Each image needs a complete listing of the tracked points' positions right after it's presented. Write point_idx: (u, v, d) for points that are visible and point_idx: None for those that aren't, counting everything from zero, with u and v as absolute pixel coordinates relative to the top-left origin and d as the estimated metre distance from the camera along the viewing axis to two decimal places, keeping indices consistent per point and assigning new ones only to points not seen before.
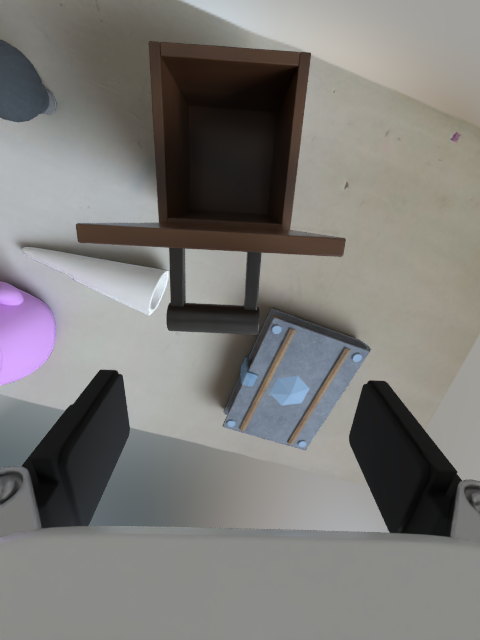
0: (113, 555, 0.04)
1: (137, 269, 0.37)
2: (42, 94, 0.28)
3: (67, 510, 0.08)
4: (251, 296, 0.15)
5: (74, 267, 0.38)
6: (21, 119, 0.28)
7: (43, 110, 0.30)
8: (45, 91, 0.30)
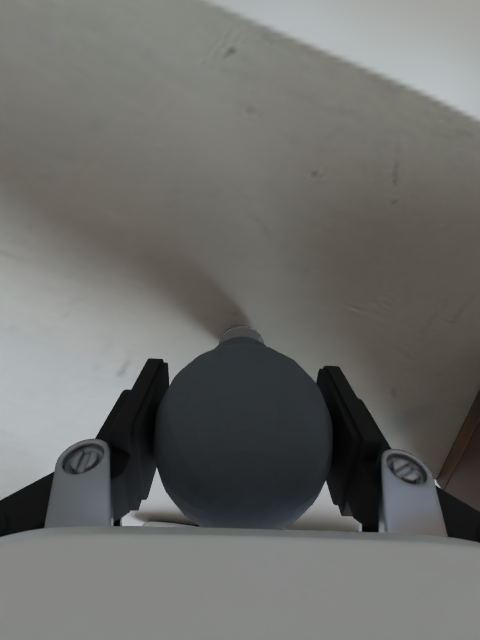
0: (114, 554, 0.04)
1: None
2: None
3: (133, 480, 0.08)
4: None
5: None
6: None
7: None
8: None
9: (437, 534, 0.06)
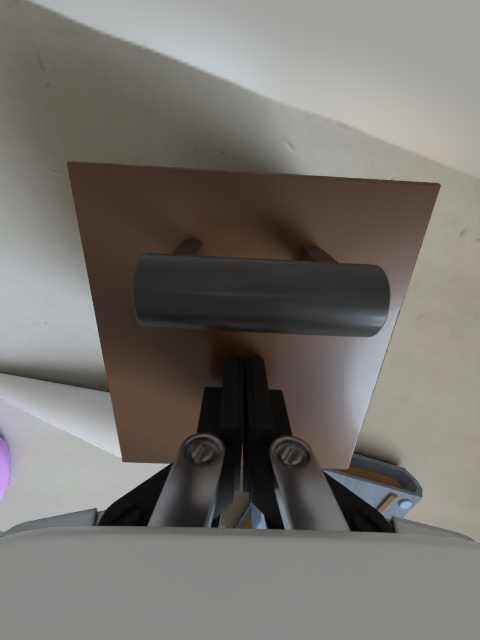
0: (113, 554, 0.04)
1: (112, 408, 0.27)
2: None
3: None
4: None
5: (26, 403, 0.27)
6: None
7: None
8: None
9: (331, 509, 0.06)
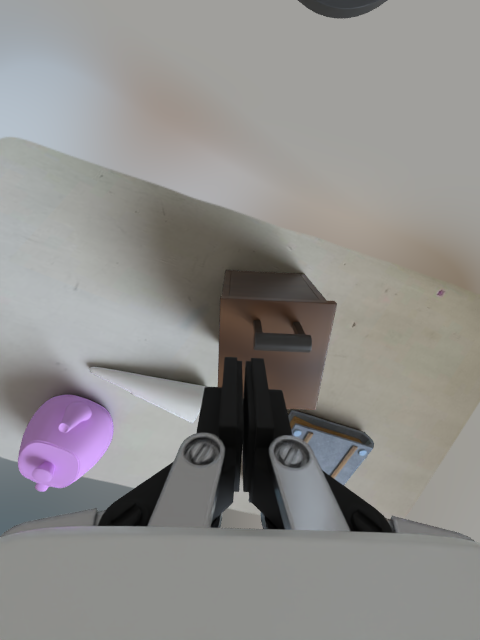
0: (113, 555, 0.04)
1: (185, 390, 0.46)
2: None
3: None
4: (301, 332, 0.27)
5: (133, 387, 0.46)
6: None
7: None
8: None
9: (331, 509, 0.06)
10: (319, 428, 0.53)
